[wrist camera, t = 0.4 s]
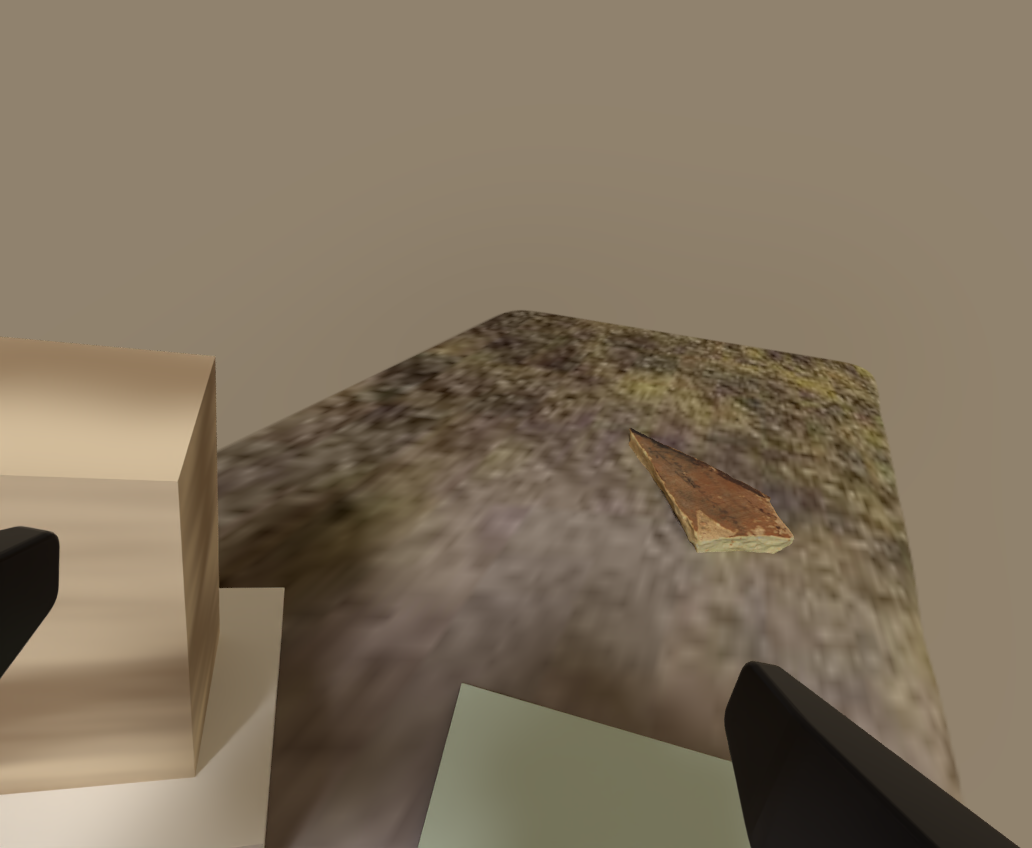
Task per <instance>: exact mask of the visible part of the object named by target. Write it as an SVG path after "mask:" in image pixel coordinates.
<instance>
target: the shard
mask: <svg viewBox="0 0 1032 848" xmlns="http://www.w3.org/2000/svg"><path fill="white" fill-rule="evenodd" d="M629 430H630V439H631V440H630V442H629V446H630V447H631V448H632V449H633V451H634V453H635V454H636V456H637V457H638V458H639V460H640V461H641V462H642V464H643V465H644V466H645V467H646V469H647V470H648V471H649V473H650V474H651V476H652V477H653V479H654V481H655V482H656V483H657V485H658V487H659V488H660V489H661V490H662V491H663V492H664V494H665V496H666V498H667V500H668V502H669V504H670V505H671V507H672V509H673V511H674V512H675V514H676V515H677V518H678V519H679V521H680V522H681V525H682V527H683V529H684V530H685V533H686V535H687V537H688V539H689V541H690V542H691V543H692V544H693V545H694V547H695V549H696V552H723V551H738V550H740V551H748V552H758V553H759V552H767V553H776V552H777V551H781V550H782V549H783V548H785V547H787V546H788V545H790V544H791V543H792V542H793V540H794V536H793V535H792V533H791V532H790V530H789V529H788V528H787V527H786V525H785V524H784V523H783V522H782V520H781V519H780V518H779V517H778V515H777V513H776V512H775V511H774V508H773V507H772V505H771V503H770V502H769V501H770V497H768V496H767V495H765V494H763V493H761V492H760V491H758V490H756V489H754V488H752V487H751V486H749V485H747V484H745V483H743V482H741V481H739V480H736V479H733V478H732V477H730V476H729V475H727V474H726V473H724V472H722V471H720V470H718V469H716V468H714V467H712V466H710V465H708V464H706V463H704V462H702V461H700V460H697V459H695V458H694V457H691V456H689V455H686V454H684V453H683V452H680V451H678V450H675V449H673V448H671V447H669V446H667V445H663V444H662V443H659V442H657V441H655V440H654V439H652V438H649V437H647V436H646V435H644V434H641V433H639V432H637V431H635V430H634V429H632V428H630V429H629Z"/></svg>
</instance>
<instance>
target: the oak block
mask: <svg viewBox="0 0 1032 848" xmlns="http://www.w3.org/2000/svg"><path fill="white" fill-rule="evenodd" d="M215 375H216V371H215V356H208V355H197V354H186V353H185V354H184V353H175V352H164V351H151V350H141V349H130V348H119V347H108V346H97V345H85V344H75V343H64V342H52V341H42V340H31V339H20V338H9V337H0V530H3V529H7V528H11V527H16V526H26V527H31V528H37V529H42V530H47V531H52V532H54V533H55V534H56V535H57V536H58V539H59V543H60V558H59V590H58V595H57V599H56V601H55V604H54V606H53V607H52V609H51V611H50V612H49V614H48V615H47V616H46V618H45V619H44V620H43V622H42V623H41V624H40V626H39V627H38V628H37V630H36V631H35V633H34V634H33V635H32V637H31V638H30V639H29V641H28V642H27V643H26V645H25V646H24V648H23V649H22V650H21V652H20V653H19V654H18V656H17V657H16V658H15V660H14V661H13V662H12V664H11V665H10V667H9V668H8V669H7V671H6V672H5V673H4V675H3V676H2V677H1V679H0V795H5V794H16V793H27V792H38V791H49V790H60V789H71V788H82V787H93V786H104V785H115V784H126V783H137V782H148V781H159V780H170V779H181V778H192V777H195V774H196V768H197V763H198V757H199V751H200V745H201V739H202V734H203V728H204V722H205V716H206V710H207V704H208V699H209V693H210V687H211V681H212V675H213V669H214V664H215V658H216V652H217V646H218V640H219V634H220V614H219V553H218V492H217V437H216V435H217V433H216V376H215Z"/></svg>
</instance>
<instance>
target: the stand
mask: <svg viewBox="0 0 1032 848" xmlns="http://www.w3.org/2000/svg"><path fill="white" fill-rule="evenodd" d="M284 589H285V588H219V614H220V634H219V640H218V646H217V652H216V658H215V664H214V669H213V675H212V681H211V687H210V693H209V699H208V704H207V710H206V716H205V722H204V728H203V734H202V739H201V745H200V751H199V757H198V763H197V768H196V774H195V777H192V778H181V779H170V780H159V781H148V782H137V783H126V784H115V785H104V786H93V787H82V788H71V789H60V790H49V791H38V792H27V793H16V794H5V795H0V848H265V835H266V823H267V811H268V798H269V786H270V774H271V761H272V749H273V736H274V724H275V712H276V699H277V687H278V675H279V662H280V650H281V637H282V621H283V605H284Z"/></svg>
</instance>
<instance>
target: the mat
mask: <svg viewBox="0 0 1032 848" xmlns="http://www.w3.org/2000/svg"><path fill="white" fill-rule="evenodd" d="M418 848H751V847H750V843H749V840H748V836H747V831H746V827H745V823H744V818H743V813H742V809H741V804H740V799H739V794H738V789H737V784H736V779H735V775H734V770H733V765H732V762H731V761H727V760H724V759H720V758H717V757H713V756H710V755H707V754H703V753H700V752H696V751H693V750H690V749H686V748H683V747H679V746H676V745H672V744H669V743H666V742H662V741H659V740H655V739H652V738H649V737H645V736H642V735H638V734H635V733H631V732H628V731H625V730H621V729H618V728H614V727H611V726H608V725H604V724H601V723H597V722H594V721H590V720H587V719H584V718H580V717H577V716H573V715H570V714H567V713H563V712H560V711H556V710H553V709H549V708H546V707H543V706H539V705H536V704H532V703H529V702H526V701H522V700H519V699H515V698H512V697H508V696H505V695H502V694H498V693H495V692H491V691H488V690H485V689H481V688H478V687H474V686H471V685H467V684H464V683H462V684H461V687H460V691H459V695H458V699H457V702H456V706H455V710H454V714H453V717H452V721H451V725H450V729H449V732H448V736H447V740H446V744H445V747H444V751H443V755H442V759H441V762H440V766H439V770H438V774H437V777H436V781H435V785H434V789H433V792H432V796H431V800H430V804H429V807H428V811H427V815H426V819H425V822H424V826H423V830H422V833H421V837H420V841H419V845H418Z"/></svg>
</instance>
